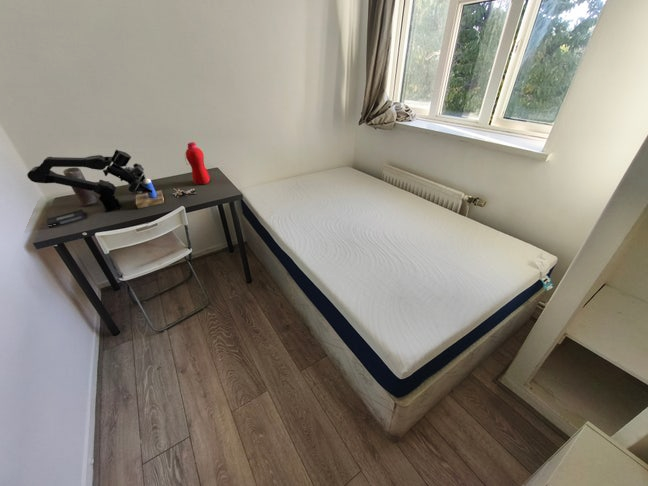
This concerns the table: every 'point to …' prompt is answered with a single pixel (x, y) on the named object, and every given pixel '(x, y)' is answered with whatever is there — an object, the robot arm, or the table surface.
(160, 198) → the holder
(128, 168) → the beverage cup
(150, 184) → the white topped blue rod
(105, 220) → the table surface
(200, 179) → the water bottle
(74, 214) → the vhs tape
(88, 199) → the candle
